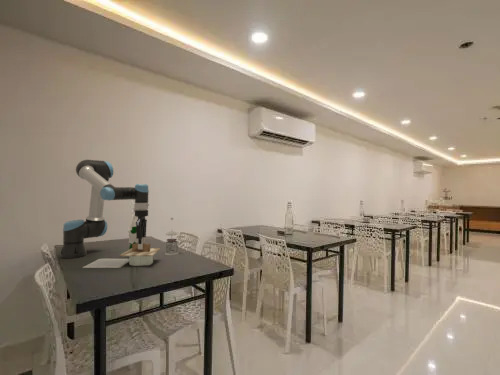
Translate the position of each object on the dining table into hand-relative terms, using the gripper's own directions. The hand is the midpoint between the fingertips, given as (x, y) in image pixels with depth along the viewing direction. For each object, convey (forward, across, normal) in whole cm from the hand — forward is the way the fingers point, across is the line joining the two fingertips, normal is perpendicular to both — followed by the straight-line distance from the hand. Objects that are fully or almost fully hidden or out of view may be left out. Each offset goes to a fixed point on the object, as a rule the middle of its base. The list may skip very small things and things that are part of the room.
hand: (141, 248), depth 178 cm
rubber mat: (+9, 0, +19) cm, 21 cm away
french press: (+9, +27, -13) cm, 31 cm away
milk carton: (+9, +18, +9) cm, 22 cm away
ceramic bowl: (+9, 0, 0) cm, 9 cm away
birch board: (+3, 0, 0) cm, 3 cm away
